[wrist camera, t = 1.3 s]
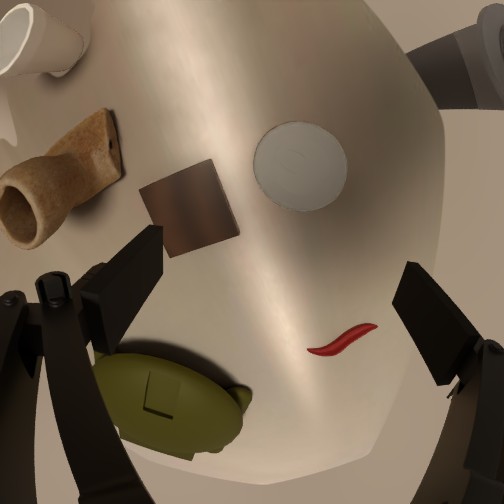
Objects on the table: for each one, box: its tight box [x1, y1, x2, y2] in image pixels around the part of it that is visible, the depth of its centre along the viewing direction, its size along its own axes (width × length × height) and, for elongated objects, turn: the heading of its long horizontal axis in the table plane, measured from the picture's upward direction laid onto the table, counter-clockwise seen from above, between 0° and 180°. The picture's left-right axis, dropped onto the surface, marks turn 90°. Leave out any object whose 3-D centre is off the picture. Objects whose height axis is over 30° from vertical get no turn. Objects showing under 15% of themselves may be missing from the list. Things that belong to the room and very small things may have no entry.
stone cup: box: [0, 108, 121, 250], centre depth 27 cm, size 15×12×15 cm
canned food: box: [253, 121, 348, 212], centre depth 28 cm, size 8×8×11 cm
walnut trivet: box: [139, 159, 240, 258], centre depth 35 cm, size 10×10×1 cm
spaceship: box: [92, 350, 252, 461], centre depth 47 cm, size 35×31×10 cm
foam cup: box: [0, 3, 84, 77], centre depth 21 cm, size 10×9×13 cm
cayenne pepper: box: [307, 324, 378, 356], centre depth 42 cm, size 12×5×2 cm, turn 106°
